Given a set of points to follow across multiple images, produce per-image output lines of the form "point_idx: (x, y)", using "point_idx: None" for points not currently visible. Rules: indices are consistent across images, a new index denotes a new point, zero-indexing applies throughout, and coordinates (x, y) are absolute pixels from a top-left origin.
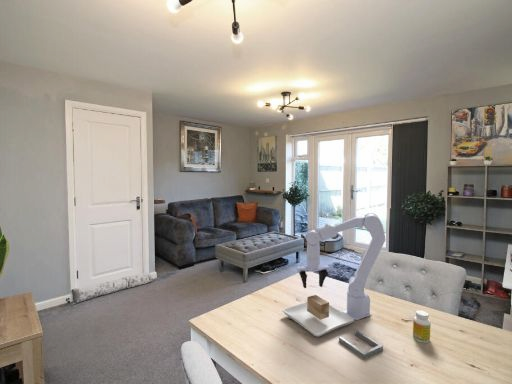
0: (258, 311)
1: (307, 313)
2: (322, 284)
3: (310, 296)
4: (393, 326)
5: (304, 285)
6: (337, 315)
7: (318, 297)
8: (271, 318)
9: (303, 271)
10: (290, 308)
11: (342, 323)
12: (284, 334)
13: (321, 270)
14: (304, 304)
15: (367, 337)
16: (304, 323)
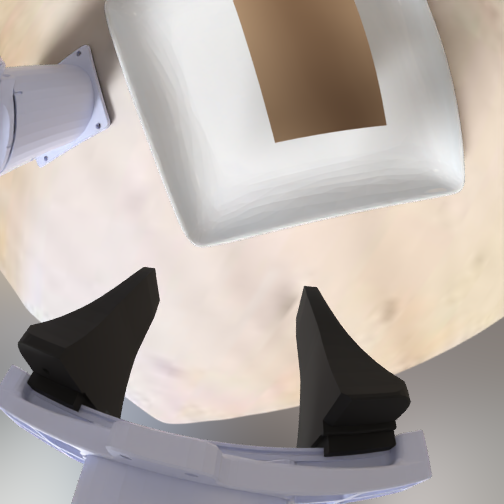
0: (487, 251)
1: (321, 141)
2: (132, 277)
3: (350, 124)
4: (13, 25)
5: (326, 304)
6: (156, 68)
7: (276, 76)
8: (483, 182)
9: (357, 450)
10: (416, 192)
11: (172, 3)
12: (484, 50)
13: (80, 406)
14: (311, 211)
15: None
16: (389, 55)
